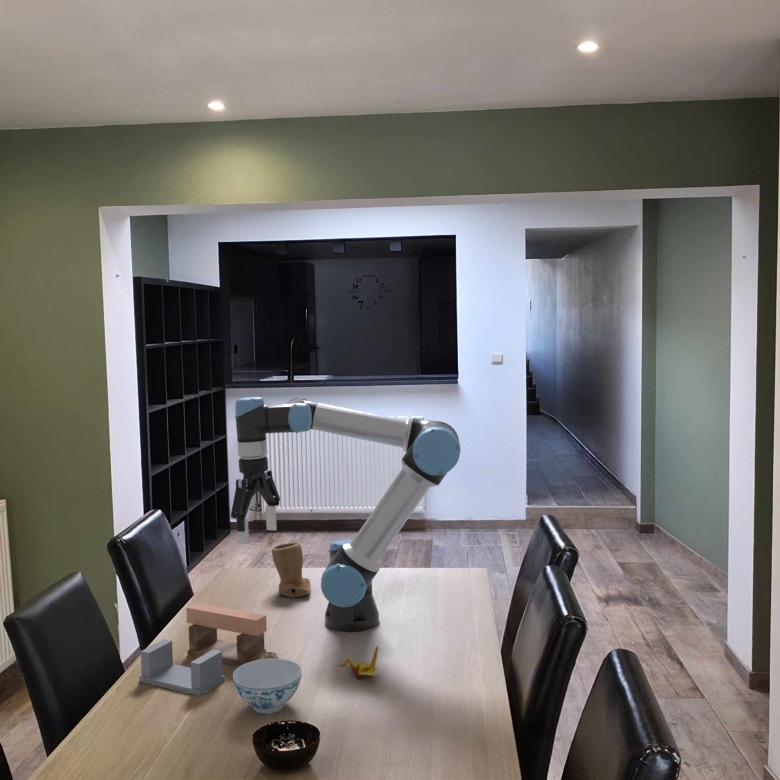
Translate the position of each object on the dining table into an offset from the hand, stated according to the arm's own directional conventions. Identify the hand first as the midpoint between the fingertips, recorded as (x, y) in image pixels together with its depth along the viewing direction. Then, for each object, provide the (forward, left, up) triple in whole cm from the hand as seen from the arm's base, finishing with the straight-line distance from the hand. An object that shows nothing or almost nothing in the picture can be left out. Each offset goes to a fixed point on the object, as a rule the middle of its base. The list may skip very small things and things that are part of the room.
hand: (258, 536), depth 216 cm
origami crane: (-36, +9, -28) cm, 46 cm away
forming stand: (+2, +29, -28) cm, 40 cm away
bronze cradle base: (+2, +12, -28) cm, 30 cm away
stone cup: (+14, -36, -28) cm, 48 cm away
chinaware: (-24, +31, -28) cm, 48 cm away
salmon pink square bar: (+2, +12, -21) cm, 24 cm away
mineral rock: (-11, +15, -28) cm, 34 cm away
